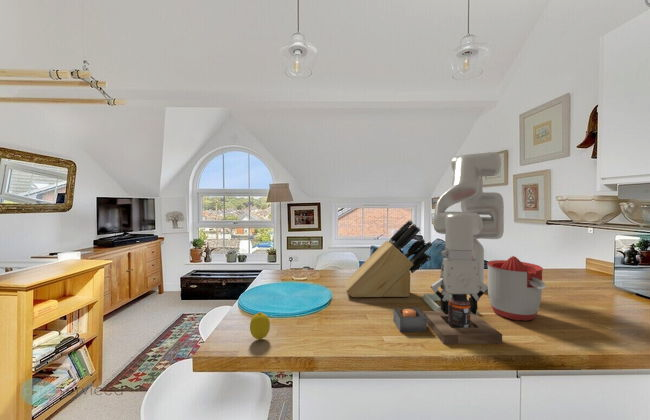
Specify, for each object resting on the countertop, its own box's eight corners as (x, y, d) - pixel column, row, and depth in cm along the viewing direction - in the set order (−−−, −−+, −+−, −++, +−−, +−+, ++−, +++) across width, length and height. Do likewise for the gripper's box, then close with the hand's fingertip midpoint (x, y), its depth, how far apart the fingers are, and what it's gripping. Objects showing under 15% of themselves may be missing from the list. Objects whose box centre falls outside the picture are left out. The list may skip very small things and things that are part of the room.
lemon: (252, 335, 80) (251, 309, 80) (271, 334, 81) (270, 308, 81) (248, 345, 75) (247, 317, 75) (268, 344, 75) (268, 315, 75)
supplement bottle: (473, 335, 79) (473, 296, 79) (451, 333, 80) (451, 295, 80) (466, 325, 85) (466, 289, 84) (446, 324, 86) (446, 288, 86)
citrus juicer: (522, 330, 82) (523, 264, 81) (476, 308, 98) (476, 253, 98) (560, 323, 86) (561, 260, 85) (509, 303, 103) (510, 250, 102)
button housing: (393, 320, 89) (393, 308, 89) (417, 319, 89) (417, 307, 89) (399, 331, 81) (399, 318, 81) (426, 331, 81) (426, 318, 81)
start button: (401, 321, 87) (401, 308, 87) (413, 321, 87) (413, 308, 87) (404, 326, 83) (404, 314, 83) (417, 326, 83) (417, 314, 83)
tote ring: (423, 299, 107) (423, 293, 107) (458, 299, 107) (458, 293, 107) (437, 314, 94) (437, 307, 93) (477, 314, 93) (477, 306, 93)
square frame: (422, 318, 90) (422, 311, 90) (471, 318, 90) (471, 310, 90) (443, 343, 74) (443, 334, 74) (502, 343, 74) (502, 334, 74)
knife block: (434, 297, 109) (434, 221, 108) (346, 298, 110) (345, 222, 109) (424, 288, 121) (423, 219, 120) (344, 289, 121) (343, 220, 120)
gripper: (434, 257, 78) (434, 318, 78) (495, 256, 78) (495, 317, 78) (425, 252, 85) (425, 307, 86) (480, 251, 85) (480, 307, 86)
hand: (458, 312), depth 82 cm, fingers open, 7 cm apart
